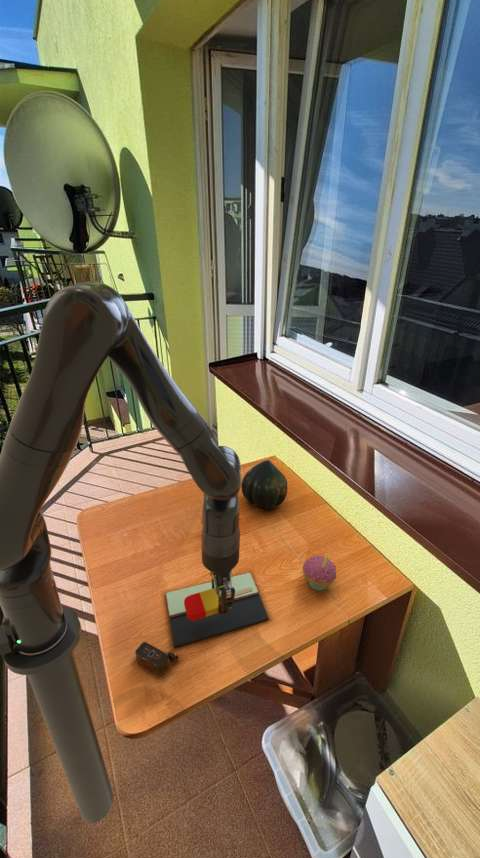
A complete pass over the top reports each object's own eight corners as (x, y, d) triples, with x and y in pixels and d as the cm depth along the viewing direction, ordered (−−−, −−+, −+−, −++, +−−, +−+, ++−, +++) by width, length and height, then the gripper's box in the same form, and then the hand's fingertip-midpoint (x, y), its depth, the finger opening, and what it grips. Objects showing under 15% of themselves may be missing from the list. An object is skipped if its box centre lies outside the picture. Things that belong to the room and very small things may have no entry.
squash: (254, 510, 112) (281, 467, 113) (225, 488, 122) (251, 448, 123) (279, 521, 123) (304, 482, 124) (251, 500, 132) (274, 464, 134)
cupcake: (340, 589, 96) (348, 554, 90) (312, 602, 92) (319, 566, 86) (321, 565, 102) (327, 532, 97) (294, 576, 98) (299, 542, 93)
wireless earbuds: (163, 679, 73) (162, 669, 72) (135, 662, 76) (133, 652, 74) (179, 658, 77) (178, 648, 75) (151, 643, 79) (150, 633, 78)
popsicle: (183, 602, 82) (182, 596, 81) (247, 582, 88) (248, 576, 87) (188, 623, 78) (188, 617, 77) (256, 601, 84) (257, 595, 83)
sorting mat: (174, 648, 79) (174, 645, 78) (166, 594, 90) (165, 591, 90) (268, 619, 86) (268, 617, 86) (250, 573, 98) (250, 571, 97)
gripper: (194, 522, 79) (196, 579, 87) (209, 574, 68) (210, 634, 75) (229, 515, 82) (228, 571, 90) (249, 564, 70) (246, 623, 78)
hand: (220, 600), depth 82 cm, fingers closed on popsicle, 5 cm apart
